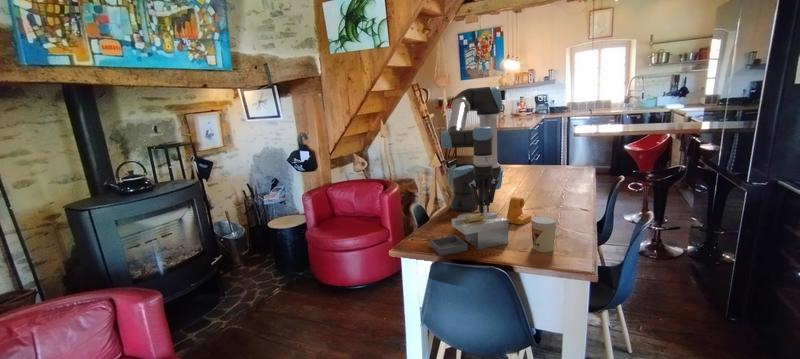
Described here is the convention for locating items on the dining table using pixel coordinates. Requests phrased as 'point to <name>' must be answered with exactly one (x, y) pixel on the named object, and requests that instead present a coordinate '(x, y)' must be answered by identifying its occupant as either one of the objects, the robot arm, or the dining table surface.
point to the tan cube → (480, 217)
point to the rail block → (484, 231)
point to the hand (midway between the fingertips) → (484, 219)
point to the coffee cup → (543, 233)
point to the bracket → (517, 211)
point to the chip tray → (448, 245)
